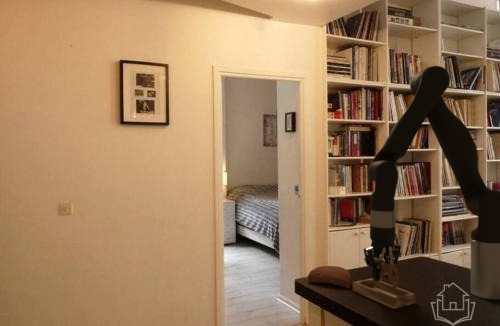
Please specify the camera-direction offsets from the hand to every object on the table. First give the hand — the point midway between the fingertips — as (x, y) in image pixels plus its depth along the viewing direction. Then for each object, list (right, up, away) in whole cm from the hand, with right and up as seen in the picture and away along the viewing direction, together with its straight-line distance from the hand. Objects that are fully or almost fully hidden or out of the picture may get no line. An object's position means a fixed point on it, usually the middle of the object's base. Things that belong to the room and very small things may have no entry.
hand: (382, 278), depth 121 cm
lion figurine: (0, -1, -1) cm, 2 cm away
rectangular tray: (0, -6, 0) cm, 6 cm away
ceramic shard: (-12, -6, +17) cm, 22 cm away
